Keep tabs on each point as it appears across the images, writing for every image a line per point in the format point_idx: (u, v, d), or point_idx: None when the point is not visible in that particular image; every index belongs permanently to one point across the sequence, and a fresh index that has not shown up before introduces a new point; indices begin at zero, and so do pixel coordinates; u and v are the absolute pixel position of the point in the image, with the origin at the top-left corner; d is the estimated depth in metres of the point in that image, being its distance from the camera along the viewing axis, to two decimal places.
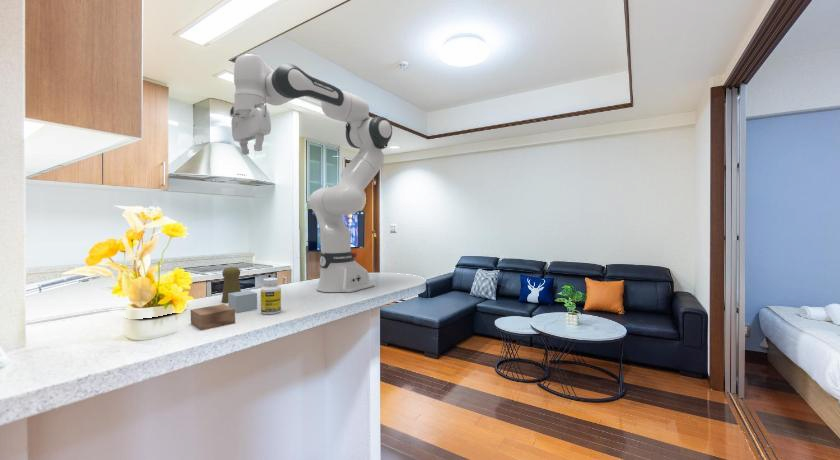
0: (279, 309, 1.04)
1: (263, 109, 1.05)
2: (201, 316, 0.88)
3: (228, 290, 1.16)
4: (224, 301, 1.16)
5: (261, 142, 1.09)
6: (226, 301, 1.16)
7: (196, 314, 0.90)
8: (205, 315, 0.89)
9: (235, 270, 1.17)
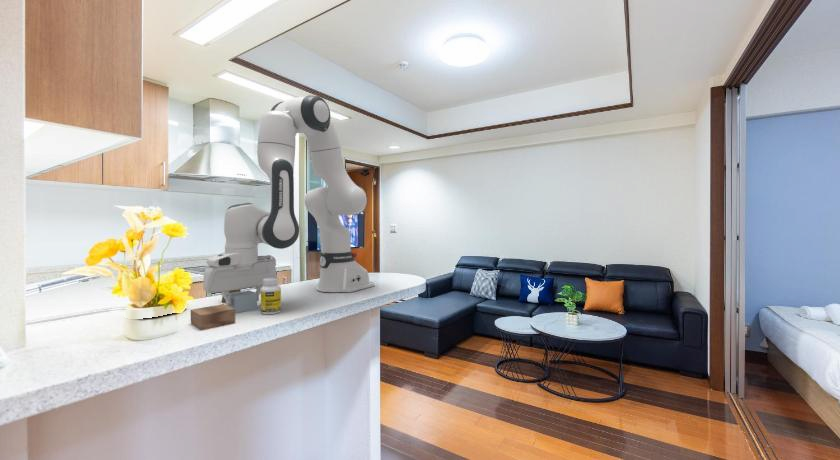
0: (279, 309, 1.04)
1: (274, 262, 1.14)
2: (201, 316, 0.88)
3: None
4: (224, 301, 1.16)
5: None
6: None
7: (196, 314, 0.90)
8: (205, 315, 0.89)
9: None
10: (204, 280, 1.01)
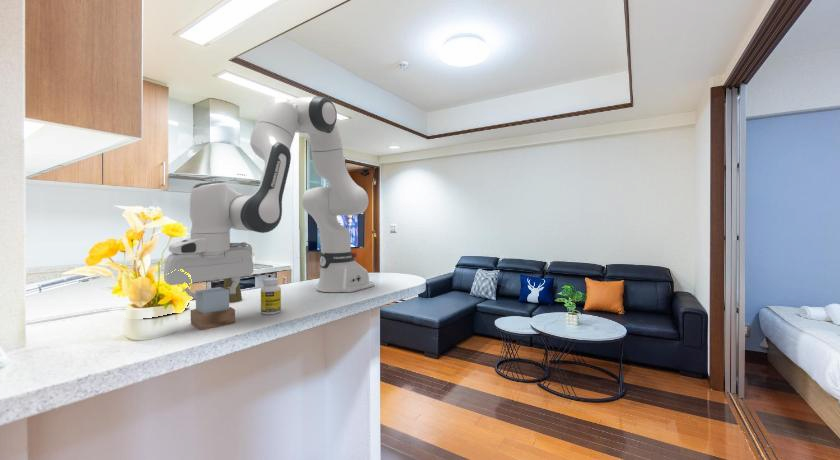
0: (279, 309, 1.04)
1: (250, 250, 1.00)
2: (201, 316, 0.88)
3: None
4: None
5: None
6: None
7: (196, 314, 0.90)
8: (205, 315, 0.89)
9: None
10: (165, 269, 0.87)
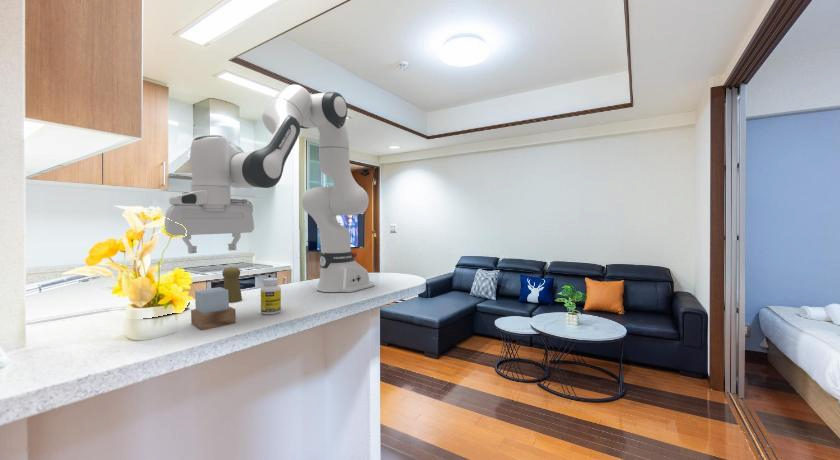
0: (279, 309, 1.04)
1: (250, 208, 1.00)
2: (202, 316, 0.88)
3: (228, 290, 1.16)
4: None
5: None
6: None
7: (197, 314, 0.90)
8: (206, 315, 0.89)
9: (235, 270, 1.17)
10: (165, 220, 0.86)
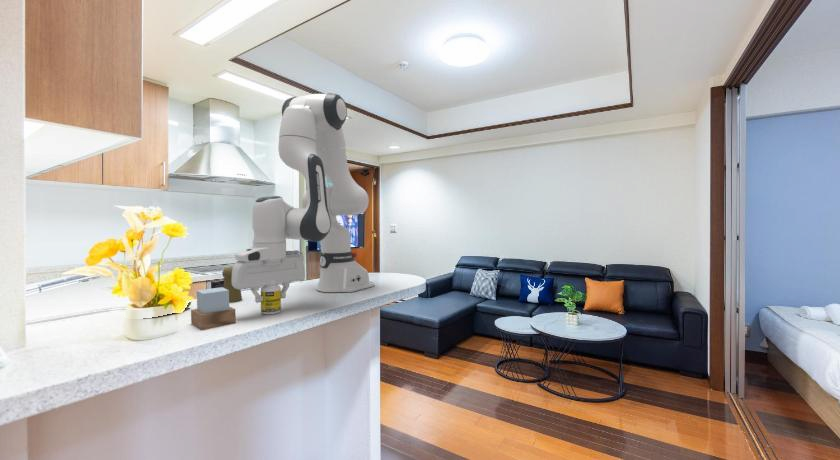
0: (279, 309, 1.04)
1: (301, 257, 1.10)
2: (201, 316, 0.88)
3: None
4: None
5: None
6: None
7: (196, 314, 0.90)
8: (205, 315, 0.89)
9: None
10: (232, 275, 0.97)
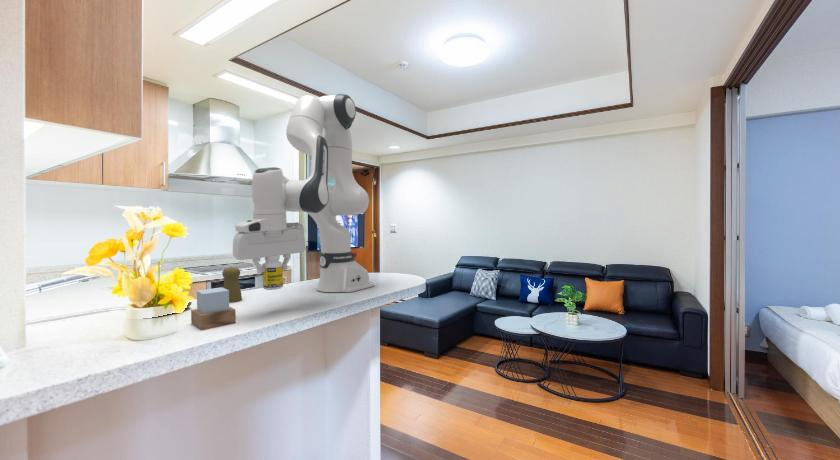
0: (281, 285, 1.04)
1: (302, 230, 1.10)
2: (201, 316, 0.88)
3: None
4: None
5: None
6: None
7: (197, 314, 0.90)
8: (205, 315, 0.89)
9: (235, 270, 1.17)
10: (233, 246, 0.97)
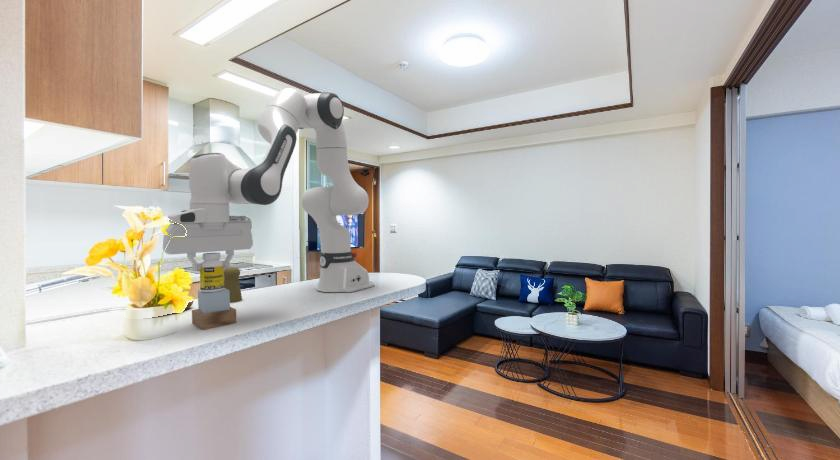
0: (221, 287, 0.93)
1: (249, 224, 1.00)
2: (202, 316, 0.88)
3: None
4: None
5: None
6: None
7: (197, 314, 0.90)
8: (206, 315, 0.89)
9: (235, 270, 1.17)
10: (163, 239, 0.86)
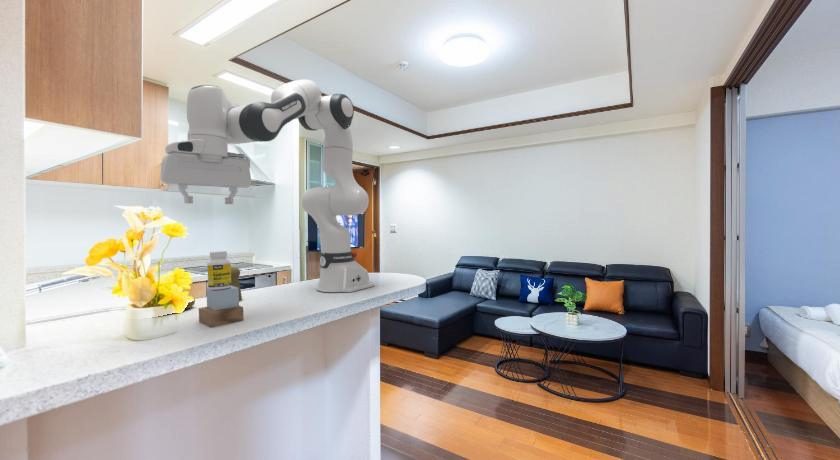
0: (229, 284, 0.95)
1: (248, 163, 0.99)
2: (211, 314, 0.90)
3: None
4: None
5: None
6: None
7: (206, 312, 0.92)
8: (215, 313, 0.91)
9: (235, 270, 1.17)
10: (161, 168, 0.86)
